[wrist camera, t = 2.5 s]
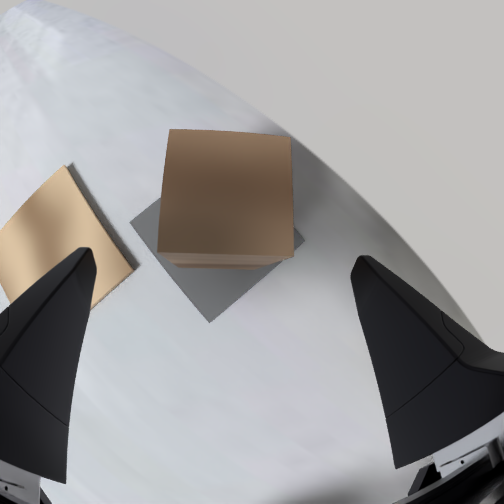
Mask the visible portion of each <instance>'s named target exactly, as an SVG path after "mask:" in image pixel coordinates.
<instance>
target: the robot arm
mask: <svg viewBox="0 0 504 504" xmlns="http://www.w3.org/2000/svg"><path fill="white" fill-rule="evenodd" d="M96 275H97V266H96V262H95V259H94V255H93V251H92V249H91V248H90V247H79V248H77V249H76V250H75V251H73V252H72V253H71V254H70V255H68V256H67V257H66V258H64V259H63V260H62V261H61V262H59V263H58V264H57V265H56V266H54V267H53V268H52V269H51V270H49V271H48V272H47V273H46V274H44V275H43V276H42V277H41V278H40V279H38V280H37V281H36V282H35V283H34V284H33V285H31V286H30V287H29V288H28V289H27V290H26V291H25V292H23V293H22V294H21V295H20V296H19V297H18V298H17V299H16V300H14V301H13V302H12V303H11V304H10V305H9V307H7V308H6V309H5V310H4V311H3V312H2V313H0V504H52V503H51V502H50V500H49V499H48V497H47V496H46V494H45V493H44V492H43V490H42V489H41V487H40V479H41V477H44V478H47V479H50V480H53V481H56V482H60V483H63V484H66V471H67V447H68V433H69V428H68V427H69V421H70V412H71V404H72V397H73V390H74V384H75V378H76V373H77V367H78V362H79V357H80V352H81V347H82V343H83V339H84V334H85V330H86V326H87V322H88V318H89V314H90V309H91V303H92V297H93V291H94V285H95V280H96ZM351 283H352V288H353V292H354V297H355V302H356V307H357V311H358V316H359V319H360V323H361V326H362V329H363V332H364V336H365V339H366V343H367V346H368V350H369V353H370V357H371V361H372V364H373V368H374V372H375V376H376V380H377V384H378V388H379V392H380V396H381V400H382V404H383V409H384V413H385V418H386V423H387V428H388V433H389V438H390V443H391V448H392V454H393V460H394V465H395V469H398V468H401V467H403V466H406V465H408V464H411V463H413V462H415V461H418V460H420V459H422V458H425V457H427V456H429V455H431V454H432V456H433V460H434V462H432V463H430V464H429V465H427V466H425V467H423V468H421V469H419V472H418V474H417V476H416V478H415V480H414V482H413V484H412V487H411V489H410V491H409V493H408V497H406V498H404V499H402V500H399V501H397V502H395V503H393V504H504V353H501V352H497V351H494V350H493V349H491V348H489V347H488V346H487V345H485V344H484V343H483V342H481V341H480V340H479V339H477V338H476V337H475V336H473V335H472V334H471V333H469V332H468V331H467V330H465V329H464V328H463V327H461V326H460V325H459V324H458V323H456V322H455V321H454V320H453V319H451V318H450V317H449V316H448V315H446V314H445V313H444V312H443V311H440V309H439V308H438V307H437V306H435V305H434V304H433V303H432V302H430V301H429V300H428V299H427V298H425V297H424V296H423V295H422V294H420V293H419V292H418V291H416V290H415V289H414V288H413V287H411V286H410V285H409V284H407V283H406V282H405V281H403V280H402V279H401V278H399V277H398V276H397V275H395V274H394V273H393V272H391V271H390V270H389V269H387V268H386V267H385V266H383V265H382V264H381V263H379V262H378V261H377V260H375V259H374V258H372V257H371V256H368V255H361V256H359V257H358V258H357V260H356V262H355V265H354V267H353V269H352V272H351Z"/></svg>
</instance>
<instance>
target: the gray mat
mask: <svg viewBox="0 0 504 504" xmlns="http://www.w3.org/2000/svg"><path fill="white" fill-rule="evenodd" d="M160 203H161V198H159V199H158V200H157V201H155V202H154V203H153V204H152V205H150V206H149V207H148V208H147V209H145V210H144V211H143V212H142V213H140V214H139V215H138V216H137V217H135V218H134V219H133V220H132V221H131V222H130V224H131V225H132V226H133V228H134V229H135V231H136V232H137V233H138V235H139V236H140V237H141V239H142V240H143V241H144V243H145V244H146V245H147V247H148V248H149V249H150V251H151V252H152V253H153V255H154V256H155V257H156V258H157V260H158V261H159V262H160V264H161V265H162V266H163V268H164V269H165V270H166V271H167V273H168V274H169V275H170V276H171V278H172V279H173V280H174V281H175V283H176V284H177V285H178V286H179V288H180V289H181V290H182V291H183V292H184V294H185V295H186V296H187V297H188V298H189V300H190V301H191V302H192V303H193V304H194V306H195V307H196V308H197V309H198V310H199V312H200V313H201V314H202V315H203V316H204V317H205V319H206V320H207V321H208V322H209V323H210V322H211V321H213V320H214V319H215V318H216V317H217V316H219V315H220V314H221V313H222V312H223V311H225V310H226V309H227V308H228V307H229V306H231V305H232V304H233V303H234V302H235V301H236V300H238V299H239V298H240V297H241V296H242V295H243V294H245V293H246V292H247V291H248V290H249V289H250V288H252V287H253V286H254V285H255V284H256V283H257V282H259V281H260V280H261V279H262V278H263V277H264V276H266V275H267V274H268V273H269V272H270V271H271V270H272V269H274V268H275V267H276V266H277V265H278V264H279V263H281V262H282V261H283V260H282V261H279V262H276V263H273V264H270V265H267V266H264V267H261V268H258V269H255V270H247V269H207V268H178V267H177V266H175V265H174V264H173V263H171V262H170V261H168V260H167V259H166V258H164V257H163V256H161V255H160V254H159V253H157V244H158V228H159V215H160ZM293 231H294V250H295V249H296V248H298V247H299V246H300V245H301V244H302V243H303V242H304V241H305V240H304V239H303V238H302V236H301V235H300V234H299V233H298V231H297V230H296V229H295V228H294V227H293Z"/></svg>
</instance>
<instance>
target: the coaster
mask: <svg viewBox="0 0 504 504" xmlns="http://www.w3.org/2000/svg"><path fill="white" fill-rule="evenodd" d="M79 247H90V248H91V249H92V251H93V255H94V259H95V262H96V266H97V275H96V280H95V285H94V291H93V297H92V303H91V309H92V308H93V307H94V306H95V305H96V304H98V303H99V302H100V301H101V300H102V299H103V298H104V297H105V296H106V295H108V294H109V293H110V292H111V291H112V290H113V289H114V288H115V287H116V286H118V285H119V284H120V283H121V282H122V281H123V280H124V279H126V278H127V277H128V276H129V275H130V274H131V273H132V272H134V269H133V268H132V267H131V265H130V264H129V263H128V261H127V260H126V258H125V257H124V256H123V254H122V253H121V251H120V250H119V249H118V247H117V246H116V244H115V243H114V241H113V240H112V239H111V237H110V236H109V234H108V233H107V231H106V230H105V228H104V227H103V225H102V224H101V222H100V221H99V219H98V218H97V216H96V215H95V213H94V211H93V210H92V208H91V207H90V205H89V204H88V202H87V200H86V199H85V197H84V196H83V194H82V192H81V191H80V189H79V187H78V186H77V184H76V182H75V181H74V179H73V177H72V175H71V174H70V172H69V170H68V168H67V167H66V166H65V165H63V166H62V167H61V168H60V169H59V170H57V171H56V172H55V173H54V174H53V175H52V176H51V177H50V178H49V179H48V180H47V181H46V182H45V183H44V184H43V185H42V186H41V187H40V188H39V189H38V190H37V191H36V192H35V193H34V194H33V195H32V196H31V197H30V198H29V199H28V200H27V201H26V202H25V203H24V204H23V205H22V206H21V207H20V208H19V210H18V211H17V212H16V213H15V214H14V215H13V216H12V217H11V219H10V220H9V221H8V222H7V223H6V224H5V226H4V227H3V228H2V229H1V230H0V283H1V285H2V287H3V289H4V291H5V293H6V295H7V297H8V299H9V301H10V303H12V302H13V301H14V300H16V299H17V298H18V297H19V296H20V295H21V294H22V293H23V292H25V291H26V290H27V289H28V288H29V287H30V286H31V285H33V284H34V283H35V282H36V281H37V280H38V279H40V278H41V277H42V276H43V275H44V274H46V273H47V272H48V271H49V270H51V269H52V268H53V267H54V266H56V265H57V264H58V263H59V262H61V261H62V260H63V259H64V258H66V257H67V256H68V255H70V254H71V253H72V252H73V251H75V250H76V249H77V248H79ZM91 309H90V310H91Z"/></svg>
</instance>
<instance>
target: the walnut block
mask: <svg viewBox="0 0 504 504" xmlns="http://www.w3.org/2000/svg"><path fill="white" fill-rule="evenodd" d="M157 253H159V254H160V255H161V256H163V257H164V258H166V259H167V260H168V261H170V262H171V263H173V264H174V265H175V266H177V267H178V268H207V269H247V270H255V269H258V268H261V267H264V266H267V265H270V264H273V263H276V262H279V261H282V260H285V259H288V258H291V257H293V256H294V231H293V187H292V160H291V138H290V137H284V136H275V135H266V134H256V133H245V132H232V131H215V130H187V129H170V130H169V137H168V144H167V151H166V158H165V166H164V174H163V183H162V193H161V203H160V215H159V228H158V244H157Z"/></svg>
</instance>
